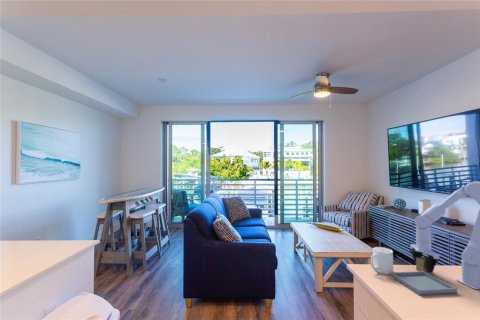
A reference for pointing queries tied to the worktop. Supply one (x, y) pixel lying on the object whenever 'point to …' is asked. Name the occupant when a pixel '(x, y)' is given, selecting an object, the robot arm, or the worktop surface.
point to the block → (421, 264)
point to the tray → (423, 283)
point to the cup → (382, 260)
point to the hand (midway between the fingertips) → (424, 268)
